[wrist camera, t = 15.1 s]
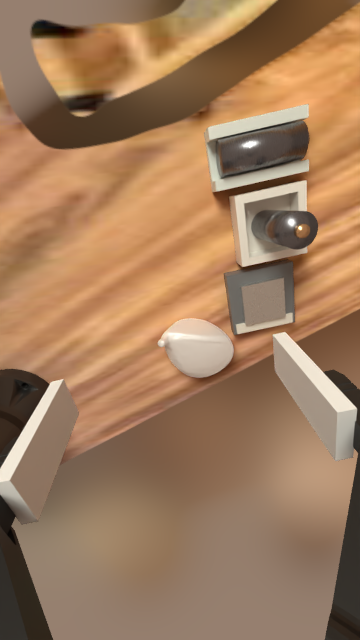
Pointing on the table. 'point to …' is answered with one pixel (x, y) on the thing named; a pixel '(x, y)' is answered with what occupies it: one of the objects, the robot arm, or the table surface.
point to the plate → (263, 300)
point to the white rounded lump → (197, 347)
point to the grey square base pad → (254, 275)
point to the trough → (246, 127)
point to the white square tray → (251, 204)
